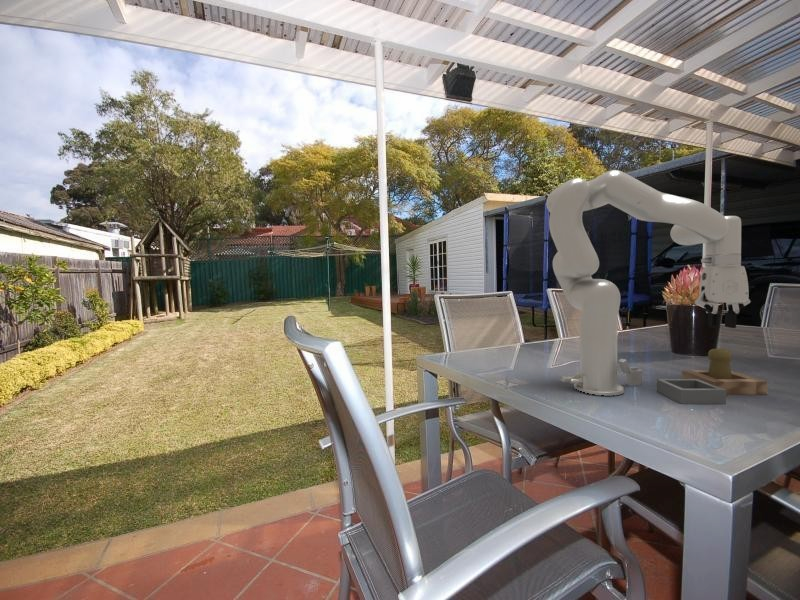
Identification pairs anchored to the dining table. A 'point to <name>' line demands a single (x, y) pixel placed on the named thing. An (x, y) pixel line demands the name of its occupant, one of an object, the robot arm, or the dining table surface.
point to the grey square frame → (691, 391)
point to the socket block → (730, 382)
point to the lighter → (631, 373)
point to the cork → (720, 364)
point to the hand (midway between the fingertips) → (722, 326)
